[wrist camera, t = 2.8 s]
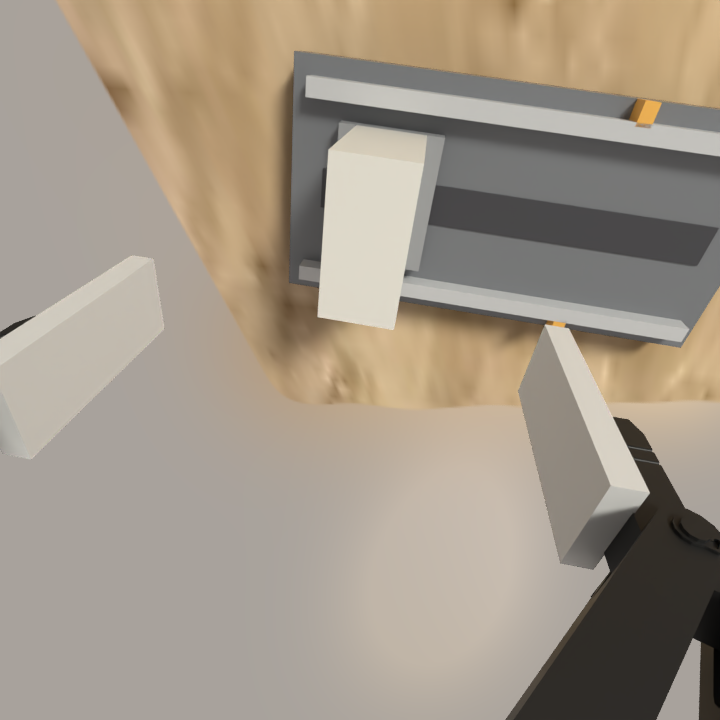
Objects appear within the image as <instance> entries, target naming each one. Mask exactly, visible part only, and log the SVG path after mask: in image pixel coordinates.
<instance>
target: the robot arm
mask: <svg viewBox="0 0 720 720" xmlns="http://www.w3.org/2000/svg"><path fill="white" fill-rule="evenodd" d="M163 330H164V322H163V316H162V309H161V303H160V296H159V290H158V284H157V277H156V271H155V265H154V259H152V258H146V257H140V256H134V255H131V256H130V257H128V258H127V259H125V260H124V261H122V262H120V263H119V264H117V265H116V266H114V267H113V268H111V269H109V270H108V271H106V272H105V273H103V274H102V275H100V276H98V277H97V278H95V279H94V280H92V281H90V282H89V283H87V284H86V285H84V286H83V287H81V288H79V289H78V290H76V291H75V292H73V293H71V294H70V295H68V296H67V297H65V298H64V299H62V300H60V301H59V302H58V303H56V304H54V305H53V306H51V307H49V308H48V309H46V310H45V311H43V312H42V313H40V314H38V315H37V316H33V317H30V318H27V319H25V320H22V321H19V322H16V323H14V324H12V325H11V326H9V327H8V328H6V329H4V330H3V331H1V332H0V450H1V452H2V453H3V454H6V455H11V456H17V457H21V458H27V459H32V458H33V457H34V456H35V455H36V454H37V453H38V452H39V451H40V450H41V449H42V448H43V447H45V446H46V444H48V443H49V441H50V440H52V439H53V438H54V436H56V435H57V434H58V433H59V432H60V431H61V430H62V429H63V428H64V427H65V426H66V425H67V424H68V423H69V422H70V421H71V420H72V419H73V418H74V417H75V416H76V415H77V414H78V413H79V412H80V411H81V410H82V409H83V408H84V407H85V406H86V405H87V404H88V403H89V402H90V401H91V400H92V399H94V397H96V395H98V393H99V392H101V391H102V390H103V389H104V388H105V387H106V386H107V385H108V384H109V383H110V382H111V381H112V380H113V379H114V378H115V377H116V376H117V375H118V374H119V373H120V372H121V371H122V370H123V369H124V368H125V367H126V366H127V365H128V364H129V363H130V362H131V361H132V360H133V359H134V358H135V357H136V356H137V355H138V354H139V353H140V352H141V351H142V350H143V349H145V348H146V346H148V345H149V344H150V343H151V342H152V341H153V340H154V339H155V338H156V337H157V336H158V335H159V334H160V333H161V332H162V331H163ZM518 393H519V397H520V401H521V405H522V409H523V413H524V417H525V421H526V425H527V429H528V433H529V438H530V441H531V445H532V450H533V453H534V458H535V462H536V466H537V470H538V474H539V478H540V482H541V487H542V491H543V495H544V499H545V503H546V507H547V511H548V515H549V519H550V523H551V527H552V531H553V535H554V540H555V543H556V547H557V552H558V556H559V560H560V563H562V564H567V565H572V566H577V567H582V568H588V569H594V568H595V567H596V565H597V564H598V563H599V561H600V560H601V559H602V557H603V556H604V555H605V557H606V560H607V563H608V566H609V569H610V572H609V574H608V575H607V576H606V578H605V579H604V580H603V581H602V583H601V584H600V585H599V587H598V588H597V589H596V590H595V592H594V593H593V594H592V596H591V599H590V600H589V602H588V603H587V605H586V606H585V608H584V609H583V610H582V612H581V613H580V614H579V616H578V617H577V619H576V620H575V622H574V623H573V624H572V626H571V627H570V629H569V630H568V632H567V633H566V635H565V636H564V637H563V639H562V640H561V642H560V643H559V644H558V646H557V647H556V649H555V650H554V651H553V653H552V654H551V656H550V657H549V659H548V660H547V662H546V663H545V664H544V666H543V667H542V669H541V670H540V671H539V673H538V674H537V676H536V677H535V678H534V680H533V681H532V683H531V684H530V686H529V687H528V689H527V690H526V691H525V693H524V694H523V696H522V697H521V698H520V700H519V701H518V703H517V704H516V706H515V707H514V708H513V710H512V711H511V713H510V714H509V715H508V717H507V718H506V720H656V719H657V716H658V714H659V712H660V710H661V708H662V705H663V703H664V701H665V699H666V696H667V694H668V692H669V690H670V688H671V685H672V683H673V681H674V679H675V676H676V674H677V672H678V670H679V667H680V665H681V663H682V661H683V659H684V656H685V654H686V652H687V650H688V647H689V645H690V643H691V641H692V638H694V639H696V640H698V641H700V642H701V660H700V697H699V720H720V532H719V531H718V530H717V529H716V528H715V526H714V525H712V524H711V523H710V522H708V521H707V520H706V519H704V518H703V517H702V516H700V515H698V514H696V513H694V512H692V511H690V510H688V509H685V507H684V506H683V504H682V502H681V500H680V498H679V497H678V495H677V493H676V491H675V490H674V488H673V486H672V484H671V482H670V481H669V479H668V477H667V475H666V473H665V472H664V470H663V468H662V466H661V465H659V461H658V459H657V457H656V455H655V454H654V453H653V452H652V448H651V446H650V445H649V443H648V441H647V439H646V437H645V436H644V434H643V433H642V432H641V431H640V430H639V429H638V428H637V427H636V426H635V425H634V424H633V423H632V422H630V420H628V419H622V418H617V417H612V415H611V413H610V411H609V409H608V407H607V405H606V403H605V401H604V399H603V396H602V394H601V392H600V390H599V388H598V386H597V384H596V382H595V380H594V378H593V376H592V374H591V372H590V370H589V368H588V366H587V364H586V362H585V360H584V358H583V356H582V354H581V352H580V350H579V348H578V346H577V344H576V342H575V340H574V338H573V336H572V334H571V332H570V330H569V328H564V327H558V326H552V325H546V324H545V325H544V328H543V330H542V333H541V335H540V338H539V340H538V343H537V345H536V348H535V350H534V353H533V355H532V358H531V360H530V363H529V365H528V368H527V370H526V373H525V375H524V378H523V380H522V383H521V385H520V388H519V390H518Z"/></svg>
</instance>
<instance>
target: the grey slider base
mask: <svg viewBox="0 0 720 720" xmlns="http://www.w3.org/2000/svg"><path fill="white" fill-rule="evenodd" d="M342 120H343V121H349V122H356V123H363V124H370V125H377V126H384V127H391V128H397V129H404V130H411V131H418V132H425V133H432V134H439V135H445V141H444V146H443V151H442V156H441V161H440V166H439V171H438V176H437V181H436V186H435V191H434V196H433V201H432V206H431V211H430V216H429V221H428V226H427V231H426V236H425V241H424V246H423V251H422V256H421V261H420V266H419V271H412V270H406V269H405V272H404V277H403V283H402V288H401V294H400V299H399V301H402V302H408V303H414V304H420V305H426V306H433V307H439V308H445V309H451V310H457V311H463V312H469V313H475V314H481V315H487V316H493V317H499V318H505V319H511V320H517V321H523V322H529V323H535V324H541V325H545V324H546V325H552V326H558V327H564V328H569V329H571V330H577V331H583V332H589V333H595V334H601V335H607V336H614V337H620V338H626V339H632V340H638V341H644V342H650V343H656V344H662V345H668V346H674V347H680V348H681V346H682V345H683V343H684V342H685V340H686V338H687V337H688V335H689V334H690V332H691V330H692V329H693V327H694V326H695V324H696V323H697V321H698V319H699V318H700V316H701V315H702V313H703V311H704V310H705V308H706V307H707V305H708V303H709V302H710V300H711V299H712V297H713V295H714V294H715V292H716V291H717V289H718V288H719V286H720V109H718V108H711V107H704V106H696V105H689V104H682V103H675V102H667V101H660V100H653V99H646V98H638V97H631V96H624V95H617V94H610V93H602V92H595V91H588V90H581V89H573V88H566V87H559V86H552V85H544V84H537V83H530V82H523V81H516V80H508V79H501V78H494V77H487V76H479V75H472V74H465V73H458V72H450V71H443V70H436V69H429V68H422V67H414V66H407V65H400V64H393V63H385V62H378V61H371V60H364V59H356V58H349V57H342V56H335V55H328V54H320V53H313V52H306V51H294V89H293V133H292V178H291V222H290V267H289V283H294V284H300V285H306V286H312V287H318V288H319V286H320V271H321V255H322V240H323V225H324V209H325V194H326V179H327V164H328V149H330V148H331V147H332V146H333V145H334V144H335V143H336V142H338V129H339V122H341V121H342Z"/></svg>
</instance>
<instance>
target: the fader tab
mask: <svg viewBox="0 0 720 720" xmlns="http://www.w3.org/2000/svg"><path fill="white" fill-rule="evenodd" d="M444 141H445V135H439V134H432V133H425V132H418V131H411V130H404V129H397V128H391V127H384V126H377V125H370V124H363V123H356V122H349V121H343V120H342V121H341V122H339V129H338V142H336V143H335V144H334V145H333V146H332V147H331V148H330V149H328V164H327V179H326V194H325V209H324V225H323V240H322V255H321V271H320V286H319V301H318V316H317V317H320V318H326V319H332V320H338V321H344V322H349V323H355V324H361V325H367V326H373V327H379V328H385V329H391V330H394V327H395V322H396V316H397V310H398V305H399V299H400V294H401V288H402V283H403V277H404V272H405V269H406V270H412V271H419V266H420V261H421V256H422V251H423V246H424V241H425V236H426V231H427V226H428V221H429V216H430V211H431V206H432V201H433V196H434V191H435V186H436V181H437V176H438V171H439V166H440V161H441V156H442V151H443V146H444Z"/></svg>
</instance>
